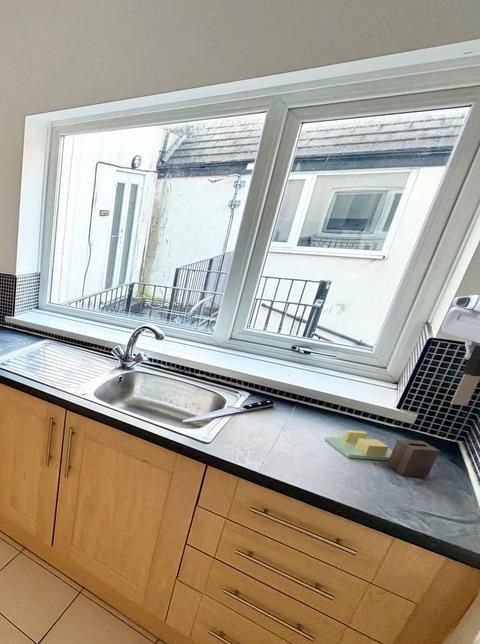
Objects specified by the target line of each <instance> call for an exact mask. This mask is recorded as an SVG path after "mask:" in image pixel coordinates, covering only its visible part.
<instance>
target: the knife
mask: <svg viewBox="0 0 480 644" xmlns="http://www.w3.org/2000/svg"><path fill="white" fill-rule="evenodd" d="M462 372H463V375H462V378H461V380H460V382H459V383H458V386H457V388H456V390H455V392H454V395H453V397H452V399H451V401H450V405H457V406H468V405H469V402H470V400H471V399H472V397H473V394H474V393H475V390H476V388H477V385H478V384H479V382H480V346H477V345H476V346H475V347H474V350H473V352H472V354H471V356H470V358H469V360H467V363H466V365H465V367H464V369H463V371H462Z"/></svg>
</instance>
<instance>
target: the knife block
mask: <svg viewBox="0 0 480 644" xmlns="http://www.w3.org/2000/svg"><path fill="white" fill-rule="evenodd" d="M439 453H440V450H439V449H437V448H436V447H434V446H432V445H431V444H429V443H427V442H425V441H423V440H415V439H414V440H412V439H397V440H396V442H395V445H394V447H393V449H392V454H391V456H390V458H389V460H387V461H388V462H387V463H386V466H387V467H389V468H390V469H392V470H394V471H395V472H396V473H398V474H399V475H401V476H405V477H416V478H417V477H418V478H428V477H429V475H430V473H431V471H432V468H433V466H434V464H435V462H436V460H437V458H438V456H439Z"/></svg>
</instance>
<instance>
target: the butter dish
mask: <svg viewBox="0 0 480 644" xmlns="http://www.w3.org/2000/svg"><path fill="white" fill-rule="evenodd" d="M323 440H324V441H325V442H327V444H329V445H330V446H332V447H334V449H336V450H337V451H339V452H340V453H341V454H342V455H344V456H345V457H346V458H349V459H362V460H378V461H389V458H390V456H391V454H392V451H393V449H390V448H388V450H387V452H386V455H385V456H376V455H365V454H364V453H362V452H361V451H359V450H358V449H357V448H355V446H356V444H357V442H349V441H345V440H344V439H343V437H333V436H331V437H330V436H325V437H324V438H323Z"/></svg>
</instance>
